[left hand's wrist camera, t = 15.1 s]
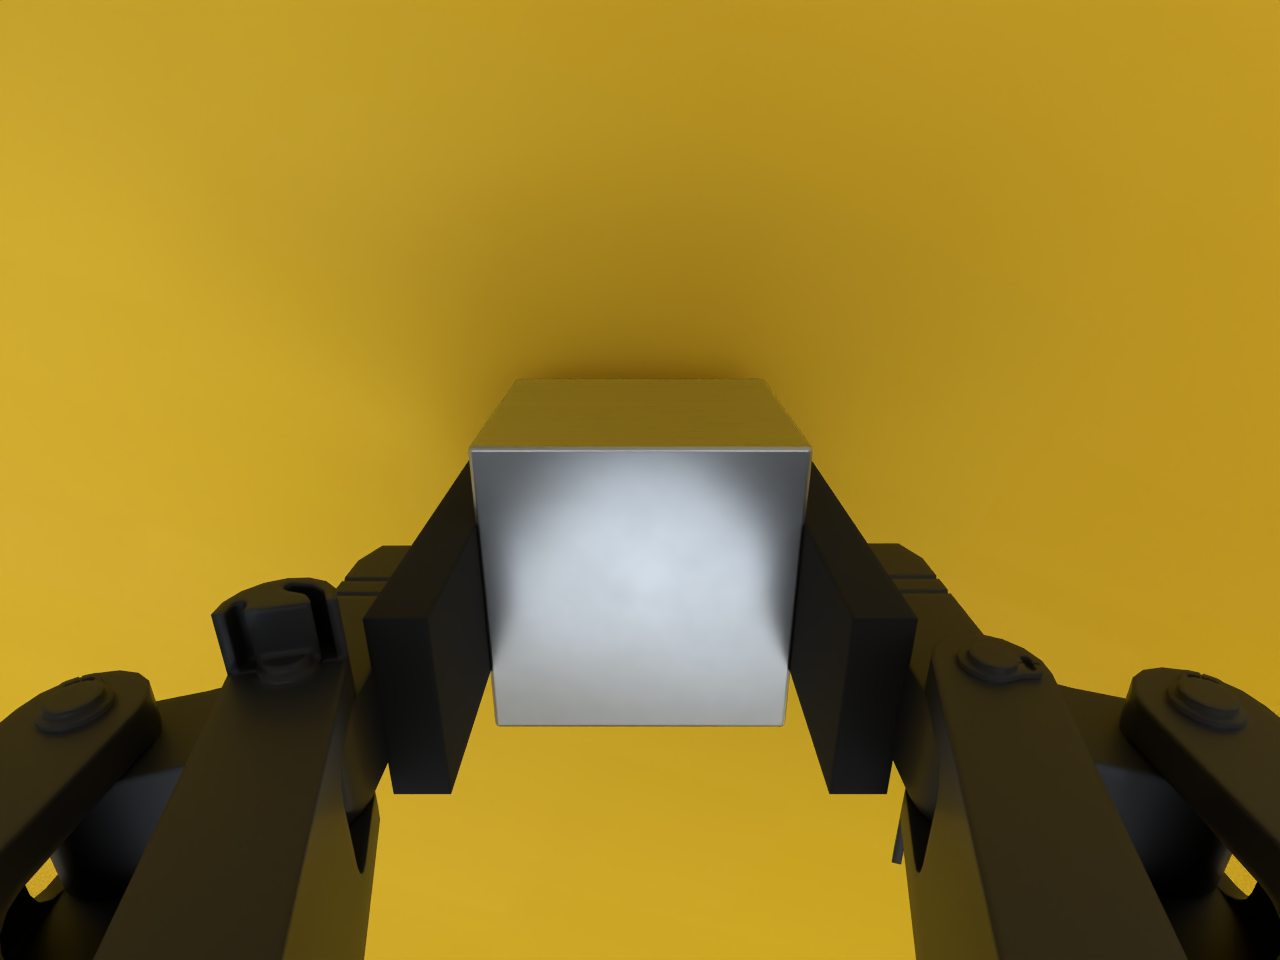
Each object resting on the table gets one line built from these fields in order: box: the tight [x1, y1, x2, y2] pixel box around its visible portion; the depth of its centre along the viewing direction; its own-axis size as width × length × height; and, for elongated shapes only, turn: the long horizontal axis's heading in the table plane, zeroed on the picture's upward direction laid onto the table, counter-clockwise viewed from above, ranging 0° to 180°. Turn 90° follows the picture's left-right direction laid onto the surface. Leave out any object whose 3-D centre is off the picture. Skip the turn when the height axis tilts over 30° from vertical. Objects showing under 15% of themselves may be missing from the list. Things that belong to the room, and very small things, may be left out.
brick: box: [468, 379, 813, 726], centre depth 13 cm, size 5×5×4 cm
